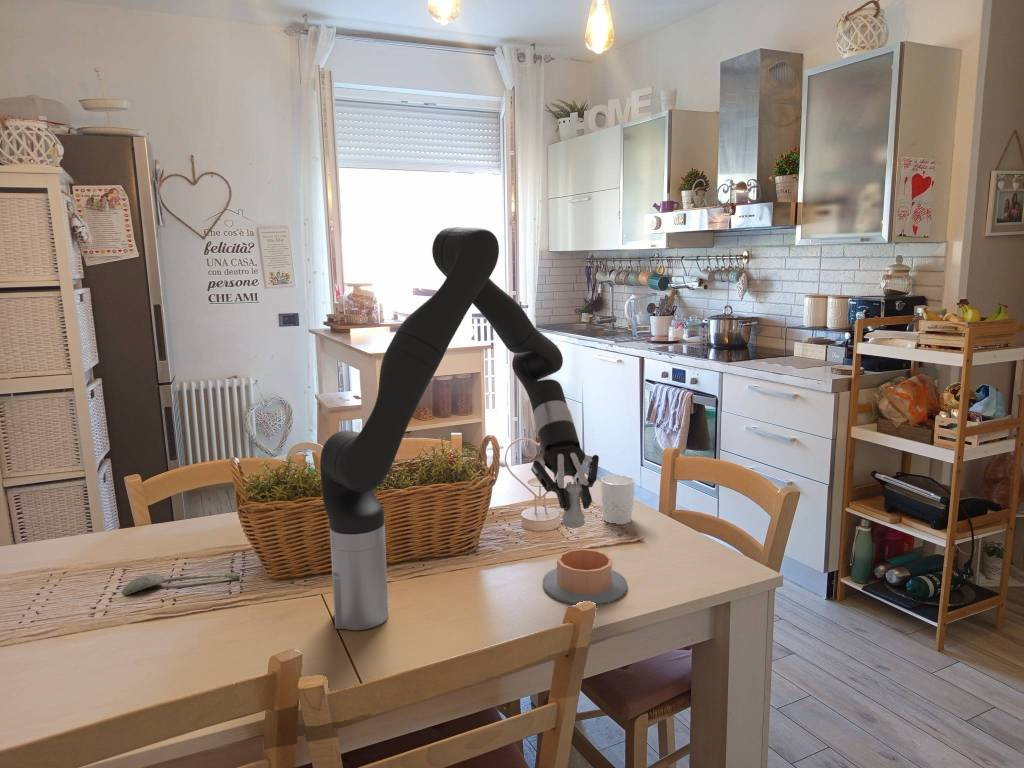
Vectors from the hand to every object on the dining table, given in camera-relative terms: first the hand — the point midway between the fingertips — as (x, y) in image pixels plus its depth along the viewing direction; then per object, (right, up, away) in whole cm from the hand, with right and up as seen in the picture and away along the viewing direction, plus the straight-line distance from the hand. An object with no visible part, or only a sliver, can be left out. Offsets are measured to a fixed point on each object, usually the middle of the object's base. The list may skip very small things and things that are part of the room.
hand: (577, 507), depth 135 cm
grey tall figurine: (0, -4, +3) cm, 5 cm away
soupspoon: (-76, -17, +7) cm, 79 cm away
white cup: (+13, -10, +39) cm, 42 cm away
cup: (+2, -16, +4) cm, 16 cm away
